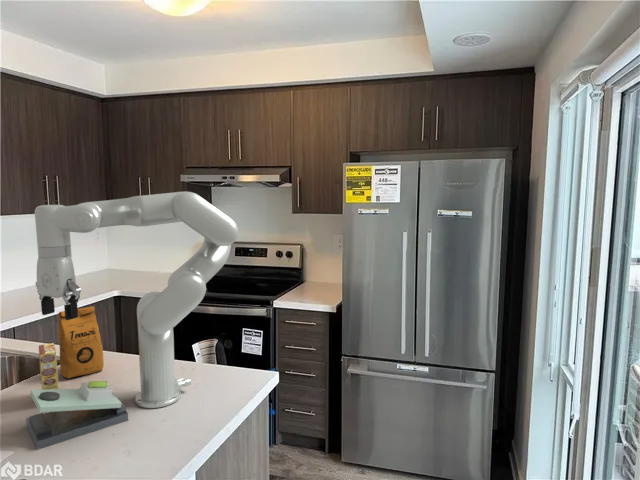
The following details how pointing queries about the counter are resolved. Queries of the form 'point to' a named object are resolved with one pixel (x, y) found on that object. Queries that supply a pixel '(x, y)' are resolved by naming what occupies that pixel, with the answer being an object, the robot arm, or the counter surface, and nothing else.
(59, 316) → the coffee package
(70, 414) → the base
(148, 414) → the counter surface
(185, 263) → the robot arm
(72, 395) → the levelling plate
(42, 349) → the candy box
